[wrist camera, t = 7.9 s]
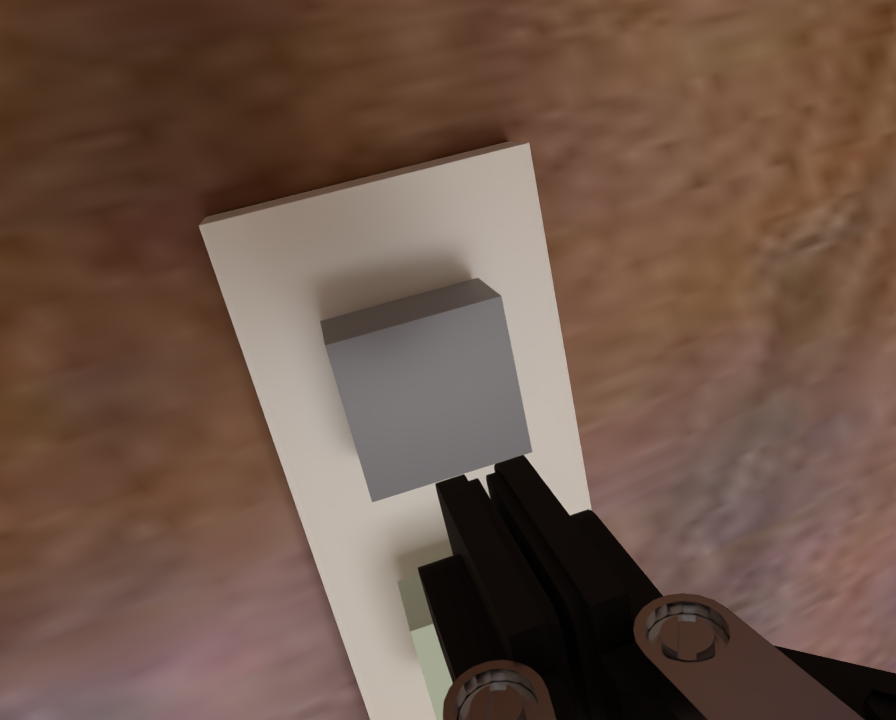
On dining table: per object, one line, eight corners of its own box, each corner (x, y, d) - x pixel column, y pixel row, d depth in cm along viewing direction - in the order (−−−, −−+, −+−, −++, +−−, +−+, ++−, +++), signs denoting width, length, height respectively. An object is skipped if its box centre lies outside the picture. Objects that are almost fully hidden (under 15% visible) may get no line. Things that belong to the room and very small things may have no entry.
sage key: (397, 581, 23) (410, 631, 21) (538, 534, 24) (565, 578, 22) (430, 693, 25) (446, 750, 23) (561, 646, 26) (588, 698, 24)
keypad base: (205, 216, 22) (198, 225, 20) (509, 141, 23) (529, 142, 21) (424, 856, 33) (433, 900, 31) (623, 779, 34) (643, 816, 32)
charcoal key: (319, 321, 21) (325, 345, 19) (478, 277, 22) (501, 295, 20) (362, 464, 23) (372, 502, 21) (507, 420, 24) (532, 452, 21)
